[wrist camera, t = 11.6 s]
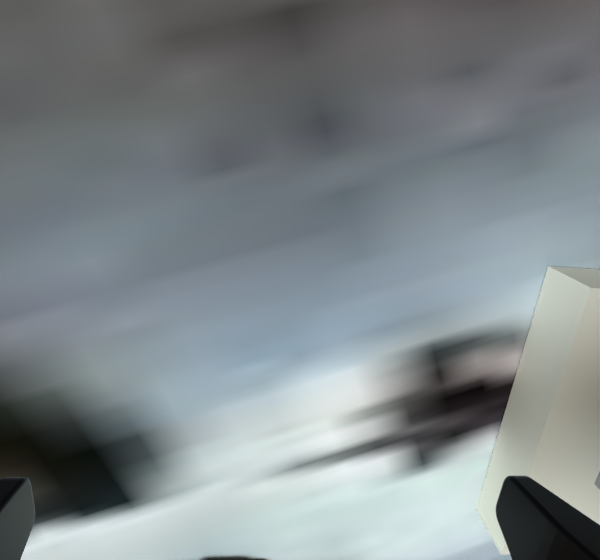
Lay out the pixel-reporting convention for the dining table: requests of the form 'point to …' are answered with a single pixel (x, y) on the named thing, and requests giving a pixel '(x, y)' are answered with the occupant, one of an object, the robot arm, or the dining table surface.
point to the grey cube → (598, 481)
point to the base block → (553, 401)
